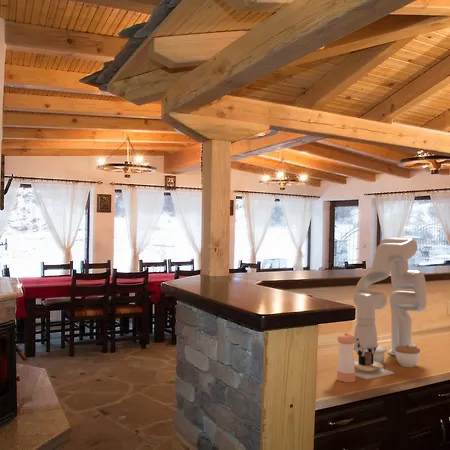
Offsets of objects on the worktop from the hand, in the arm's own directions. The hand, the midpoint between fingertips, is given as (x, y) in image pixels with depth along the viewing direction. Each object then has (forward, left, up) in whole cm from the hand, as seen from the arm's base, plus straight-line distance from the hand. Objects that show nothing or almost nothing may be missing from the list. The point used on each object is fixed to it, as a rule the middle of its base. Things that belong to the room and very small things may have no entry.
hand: (366, 363), depth 212 cm
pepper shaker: (+16, +4, -4) cm, 17 cm away
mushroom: (-15, -10, -4) cm, 18 cm away
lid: (0, 0, -1) cm, 1 cm away
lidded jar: (-25, +2, -4) cm, 25 cm away
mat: (0, 0, -4) cm, 4 cm away
